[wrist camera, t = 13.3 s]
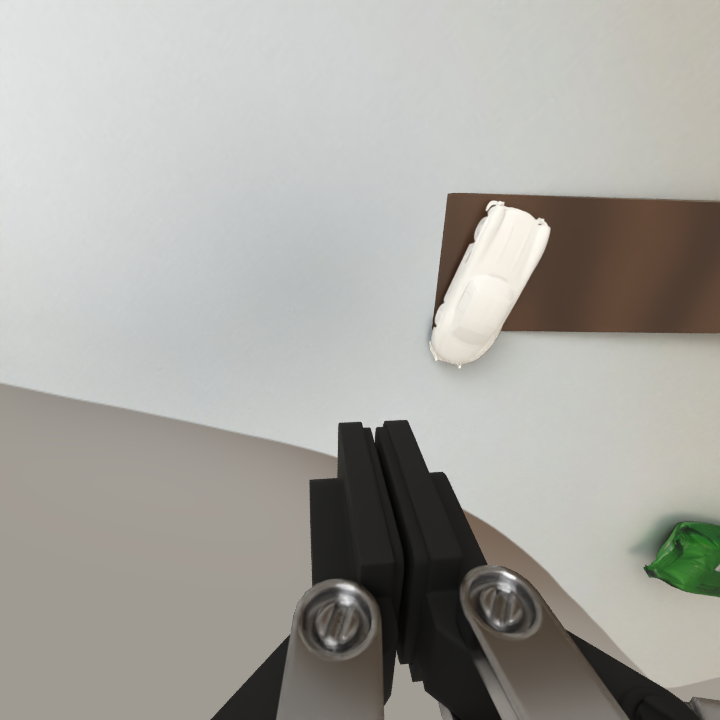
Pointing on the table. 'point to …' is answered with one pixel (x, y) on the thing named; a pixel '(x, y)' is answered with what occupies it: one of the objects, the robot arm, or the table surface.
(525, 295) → the ramp
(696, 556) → the snack package
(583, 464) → the table surface
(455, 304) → the toy car
